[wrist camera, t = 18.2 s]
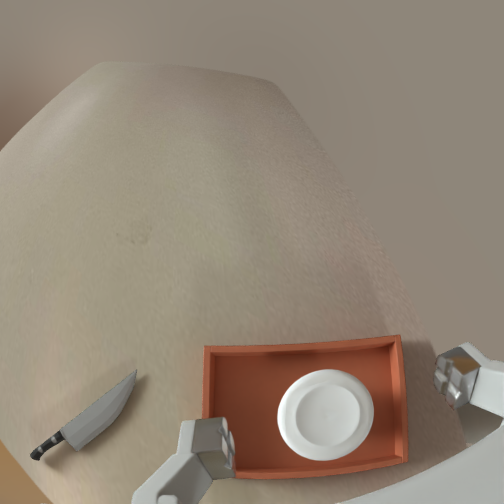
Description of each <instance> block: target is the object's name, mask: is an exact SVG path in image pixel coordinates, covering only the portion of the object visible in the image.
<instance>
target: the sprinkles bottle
mask: <svg viewBox="0 0 504 504" xmlns="http://www.w3.org/2000/svg"><path fill="white" fill-rule="evenodd" d="M373 417H374V406H373V401H372V398H371V395H370V393H369V391H368V390H367V388H366V387H365V385H364V384H363V383H362V382H361V381H360V380H359V379H357V378H356V377H355V376H353V375H351V374H349V373H346V372H343V371H340V370H333V369H325V370H319V371H315V372H312V373H309V374H307V375H305V376H303V377H301V378H300V379H298V380H297V381H296V382H295V383H293V384H292V385H291V386H290V387H289V389H288V390H287V391H286V392H285V394H284V396H283V398H282V400H281V402H280V405H279V408H278V418H277V419H278V427H279V430H280V433H281V435H282V438H283V439H284V441H285V442H286V444H287V445H288V446H289V447H290V448H291V449H292V450H293V451H295V452H296V453H297V454H299V455H301V456H303V457H305V458H308V459H312V460H318V461H327V460H334V459H338V458H340V457H343V456H345V455H347V454H349V453H351V452H352V451H354V450H355V449H356V448H357V447H358V446H359V445H360V444H361V443H362V442H363V441H364V440H365V438H366V437H367V435H368V433H369V431H370V429H371V426H372V423H373Z"/></svg>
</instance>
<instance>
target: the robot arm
mask: <svg viewBox="0 0 504 504" xmlns="http://www.w3.org/2000/svg"><path fill="white" fill-rule="evenodd" d="M435 364H436V365H437V369H436V370H435V372H434V376H433V381H434V386H435V388H436V390H437V391H438V392H439V394H442V395H445V401H446V402H447V404H448V405H449V406H450V407H451V409H452V410H455V409H457V408H459V407H461V406H463V405H465V404H467V403H469V402H470V403H471V404H473V405H475V406H478V407H480V408H482V409H485V410H487V411H489V412H492V413H494V414H497V415H499V416H501V417H504V362H502V361H498V360H492V361H491V360H490V359H488V358H487V357H486V356H485V355H484V354H483V353H482V352H480V351H479V350H478V349H477V348H476V347H474V346H473V345H472V344H471V343H470V342H466V343H464V344H462V345H460V346H458V347H456V348H453V349H452V350H449V351H447V352H445V353H443V354H441V355H438V357H437V358H436V363H435ZM234 455H235V444H234V439H233V436H232V433H231V431H230V430H228V429H227V421H226V419H225V417H216V418H207V419H197V420H187V421H183V422H182V424H181V429H180V435H179V442H178V448H177V454H173V455H172V456H171V457H170V458H169V459H168V460H167V461H166V462H165V463H164V464H163V465H162V466H161V467H160V468H159V469H158V470H157V471H156V472H155V473H154V474H153V475H152V476H151V477H150V478H149V479H148V480H147V481H145V482H144V483H143V484H142V485H141V486H140V487H139V488H138V489H137V490H136V491H135V492H134V493H133V498H132V502H131V504H198V503H199V501H200V500H201V498H202V497H203V496H204V494H205V493H206V491H207V490H208V488H209V487H210V485H211V484H212V482H213V480H217V479H226V478H233V477H236V463H235V460H234V458H233V456H234ZM336 504H504V418H503V421H502V423H501V425H500V427H499V428H498V429H497V430H495V431H494V432H492V433H491V434H489V435H488V436H486V437H484V438H483V439H481V440H480V441H478V442H477V443H475V444H473V445H472V446H470V447H468V448H467V449H465V450H463V451H461V452H460V453H458V454H456V455H454V456H452V457H451V458H449V459H447V460H445V461H443V462H441V463H439V464H437V465H435V466H433V467H431V468H429V469H427V470H425V471H423V472H421V473H418V474H416V475H414V476H412V477H410V478H407V479H405V480H402V481H400V482H398V483H395V484H393V485H390V486H388V487H385V488H382V489H380V490H377V491H374V492H371V493H368V494H365V495H362V496H359V497H356V498H353V499H350V500H347V501H343V502H340V503H336Z"/></svg>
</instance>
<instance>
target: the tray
mask: <svg viewBox="0 0 504 504" xmlns="http://www.w3.org/2000/svg"><path fill="white" fill-rule="evenodd" d="M325 369H333V370H340V371H343V372H346V373H349V374H351V375H353V376H355V377H356V378H357V379H359V380H360V381H361V382H362V383H363V384H364V385H365V387H366V388H367V390H368V391H369V393H370V395H371V398H372V401H373V406H374V417H373V423H372V426H371V429H370V431H369V433H368V435H367V437H366V438H365V440H364V441H363V442H362V443H361V444H360V445H359V446H358V447H357V448H356V449H355V450H354V451H352V452H351V453H349V454H347V455H345V456H343V457H340V458H338V459H334V460H327V461H318V460H312V459H308V458H305V457H303V456H301V455H299V454H297V453H296V452H295V451H293V450H292V449H291V448H290V447H289V446H288V445H287V444H286V442H285V441H284V439H283V438H282V435H281V433H280V430H279V427H278V419H277V418H278V408H279V405H280V402H281V400H282V398H283V396H284V394H285V392H286V391H287V390H288V389H289V387H290V386H291V385H292V384H293V383H295V382H296V381H297V380H298V379H300V378H301V377H303V376H305V375H307V374H309V373H312V372H315V371H319V370H325ZM216 417H225V419H226V421H227V429H228V430H230V431H231V433H232V436H233V439H234V444H235V455H234V456H233V458H234V460H235V463H236V477H233V478H239V479H287V478H306V477H318V476H329V475H338V474H345V473H353V472H359V471H365V470H371V469H377V468H382V467H387V466H391V465H396V464H400V463H405V462H408V414H407V396H406V382H405V371H404V361H403V352H402V344H401V336H400V335H395V336H394V335H392V336H384V337H375V338H366V339H356V340H345V341H333V342H320V343H304V344H285V345H255V346H204V360H203V395H202V419H207V418H216Z"/></svg>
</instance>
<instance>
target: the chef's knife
mask: <svg viewBox="0 0 504 504" xmlns="http://www.w3.org/2000/svg"><path fill="white" fill-rule="evenodd" d="M136 373H137V370H135V371H134V372H133V373H131V374H130V375H129V376H128V377H126V378H125V379H124V380H122V381H121V382H120V383H119V384H117V385H116V386H115V387H113V388H112V389H111V390H110V391H108V392H107V393H106V394H104V395H103V396H102V397H101V398H99V399H98V400H97V401H96V402H94V403H93V404H92V405H90V406H89V407H88V408H87V409H85V410H84V411H83V412H82V413H80V414H79V415H78V416H77V417H75V418H74V419H73V420H71V421H70V422H69V423H68V424H66V425H65V426H64V427H62V428H61V429H60V430H59V431H58V432H57V433H56V434H54V435H53V436H52V437H50V438H49V439H48V440H47V441H45V442H44V443H43V444H41V445H40V446H39V447H37V448H36V449H35V450H34V451H33V452H32V453H31V454H30V456H31V458H32V459H34V460H38V461H39V460H40V457H41V456H42V455H43V453H44V452H46V451H47V450H48V449H50V448H51V447H53V446H55V445H56V444H58V443H60V442H61V441H63V440H66V441H67V442H68V443H69V444H70V445H71V446H72V447H73V448H74V449H75V450H76V451H78V450H80V449H81V448H82V447H83V446H85V445H86V444H87V443H88V442H90V441H91V440H92V439H93V438H95V437H96V436H97V435H98V434H100V433H101V432H102V431H103V430H105V429H106V428H107V427H108V426H109V425H111V424H112V422H113V421H114V420H115V419H116V418H117V417H118V416H119V414H120V413H121V411H122V409H123V407H124V405H125V403H126V401H127V399H128V397H129V396H130V394H131V392H132V390H133V388H134V383H135V378H136Z"/></svg>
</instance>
